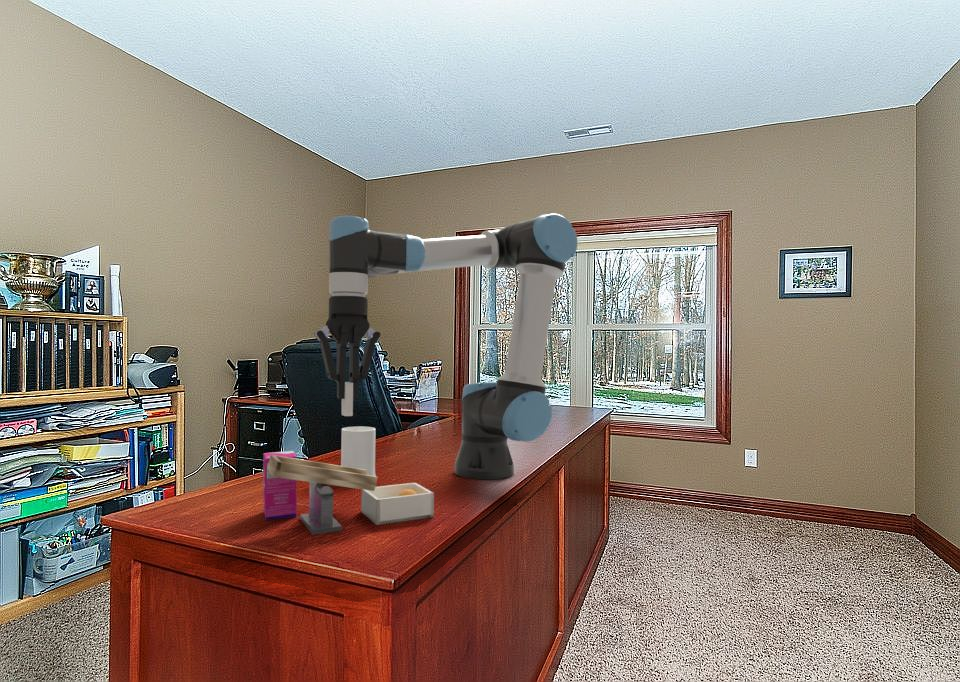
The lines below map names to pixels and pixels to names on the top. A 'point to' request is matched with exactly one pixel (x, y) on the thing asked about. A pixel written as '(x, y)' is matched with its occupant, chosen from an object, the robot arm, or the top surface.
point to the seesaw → (320, 473)
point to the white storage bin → (397, 503)
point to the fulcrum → (320, 510)
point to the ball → (407, 492)
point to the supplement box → (278, 491)
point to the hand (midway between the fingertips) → (347, 415)
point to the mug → (358, 448)
